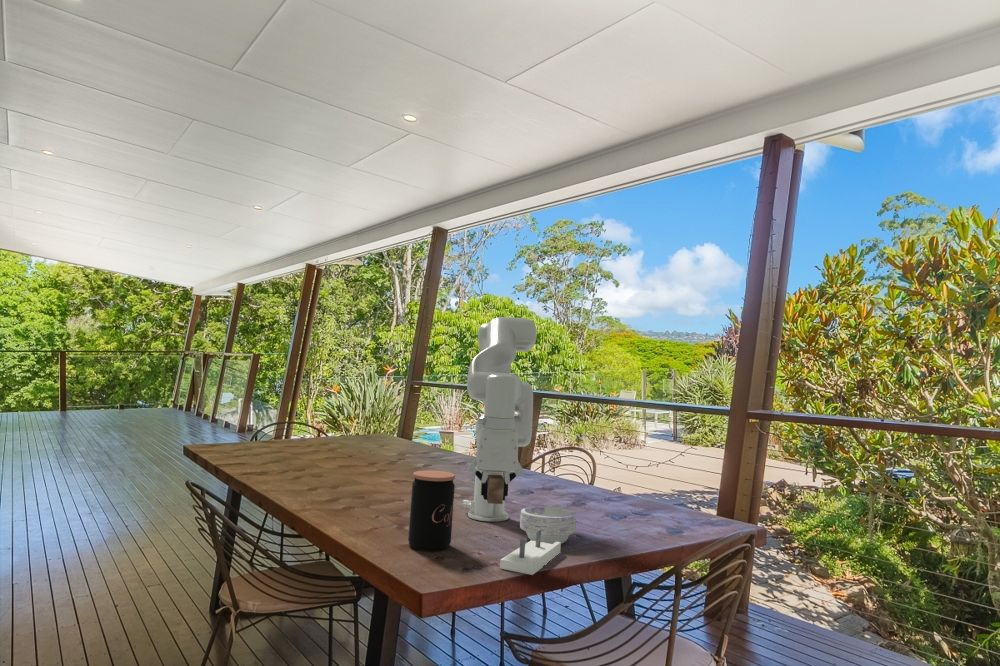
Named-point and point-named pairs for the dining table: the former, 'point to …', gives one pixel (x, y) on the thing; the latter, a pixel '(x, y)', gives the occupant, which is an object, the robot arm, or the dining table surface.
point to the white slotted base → (530, 556)
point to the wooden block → (495, 488)
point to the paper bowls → (548, 523)
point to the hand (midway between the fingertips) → (493, 498)
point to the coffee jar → (431, 510)
